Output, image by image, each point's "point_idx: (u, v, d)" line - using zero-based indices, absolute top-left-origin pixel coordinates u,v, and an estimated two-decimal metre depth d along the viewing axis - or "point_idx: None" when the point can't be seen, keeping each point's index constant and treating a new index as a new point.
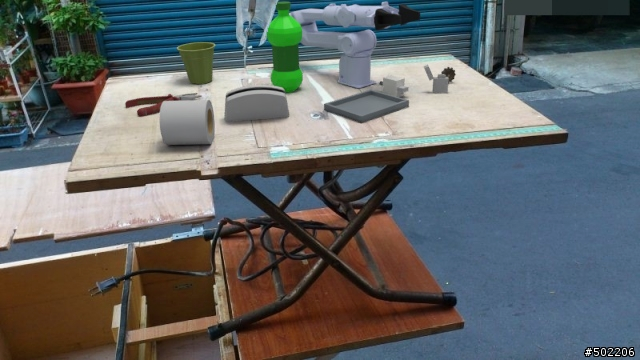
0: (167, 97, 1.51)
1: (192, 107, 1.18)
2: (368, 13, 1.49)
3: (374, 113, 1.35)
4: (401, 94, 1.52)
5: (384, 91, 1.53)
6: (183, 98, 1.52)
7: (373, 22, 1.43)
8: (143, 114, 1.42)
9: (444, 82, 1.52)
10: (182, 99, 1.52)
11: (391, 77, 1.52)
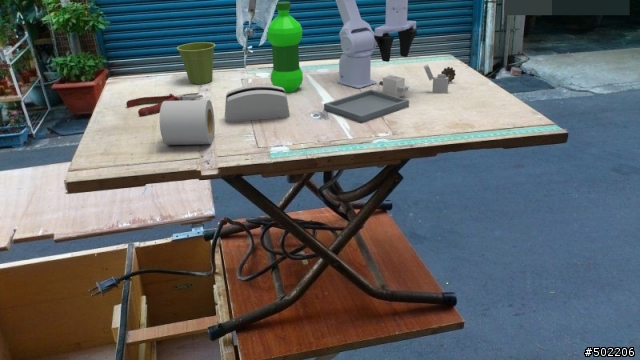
0: (168, 97, 1.51)
1: (192, 107, 1.18)
2: (393, 12, 1.41)
3: (374, 113, 1.35)
4: (401, 94, 1.52)
5: (384, 91, 1.53)
6: (184, 98, 1.52)
7: None
8: (144, 114, 1.42)
9: (444, 82, 1.52)
10: (183, 99, 1.52)
11: (391, 77, 1.52)
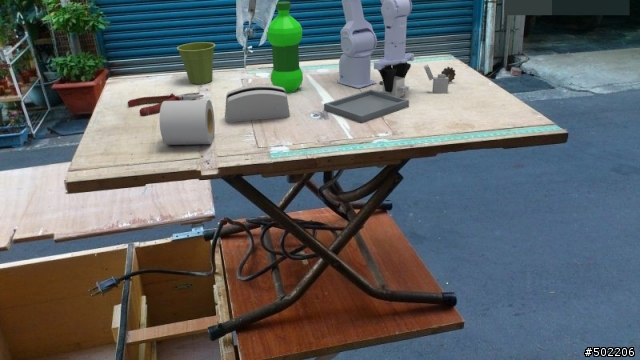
0: (169, 97, 1.51)
1: (192, 107, 1.18)
2: (392, 47, 1.45)
3: (374, 113, 1.35)
4: (401, 93, 1.52)
5: (384, 91, 1.53)
6: (185, 98, 1.52)
7: (377, 68, 1.46)
8: (145, 113, 1.42)
9: (444, 82, 1.52)
10: (184, 98, 1.52)
11: None
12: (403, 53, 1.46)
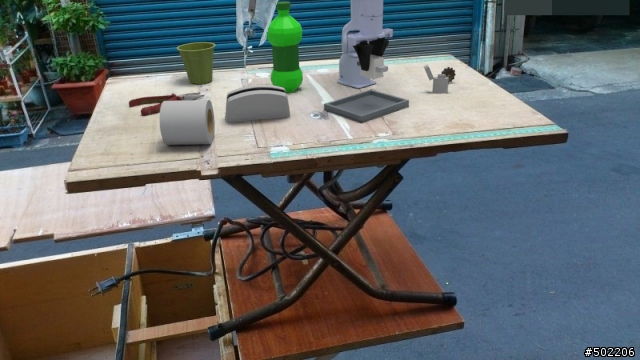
0: (171, 97, 1.52)
1: (192, 107, 1.18)
2: (367, 20, 1.32)
3: (374, 113, 1.35)
4: (380, 74, 1.39)
5: (362, 72, 1.40)
6: (186, 97, 1.52)
7: None
8: (147, 113, 1.42)
9: (444, 82, 1.52)
10: (185, 98, 1.52)
11: None
12: (380, 27, 1.33)
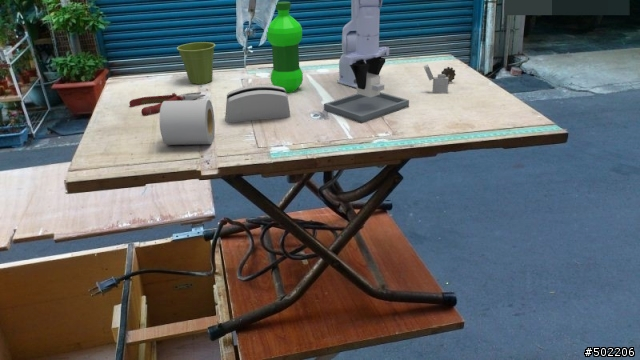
0: (171, 96, 1.52)
1: (192, 107, 1.18)
2: (363, 39, 1.33)
3: (374, 113, 1.35)
4: (377, 92, 1.40)
5: (358, 90, 1.41)
6: (187, 97, 1.52)
7: (347, 63, 1.34)
8: (147, 113, 1.42)
9: (444, 82, 1.52)
10: (186, 98, 1.52)
11: None
12: (376, 46, 1.34)
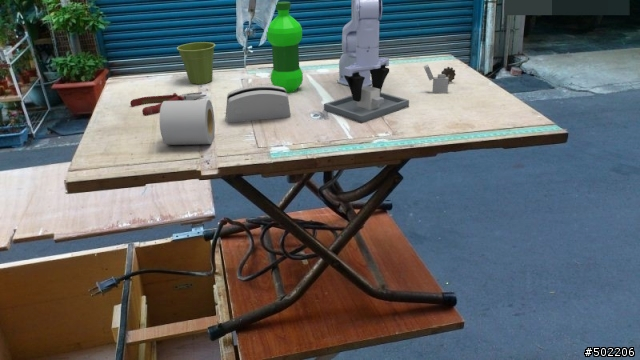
0: (172, 96, 1.52)
1: (192, 107, 1.18)
2: (363, 51, 1.34)
3: (374, 113, 1.35)
4: (376, 105, 1.41)
5: (358, 102, 1.42)
6: (188, 97, 1.52)
7: None
8: (148, 113, 1.42)
9: (444, 82, 1.52)
10: (187, 98, 1.52)
11: (365, 87, 1.41)
12: (376, 58, 1.36)
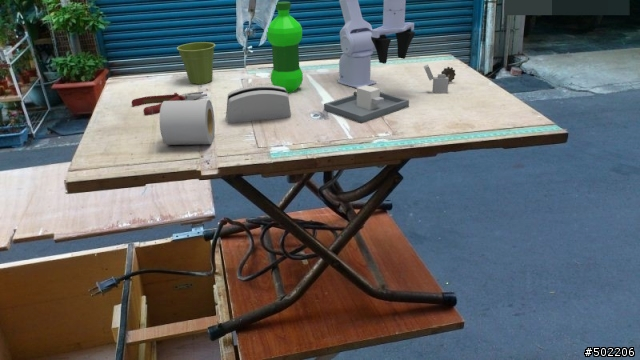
0: (173, 96, 1.52)
1: (192, 107, 1.18)
2: (390, 14, 1.39)
3: (374, 113, 1.35)
4: (376, 105, 1.41)
5: (358, 102, 1.42)
6: (189, 97, 1.52)
7: (374, 36, 1.41)
8: (149, 113, 1.43)
9: (444, 82, 1.52)
10: (188, 98, 1.52)
11: (365, 87, 1.41)
12: (402, 21, 1.41)
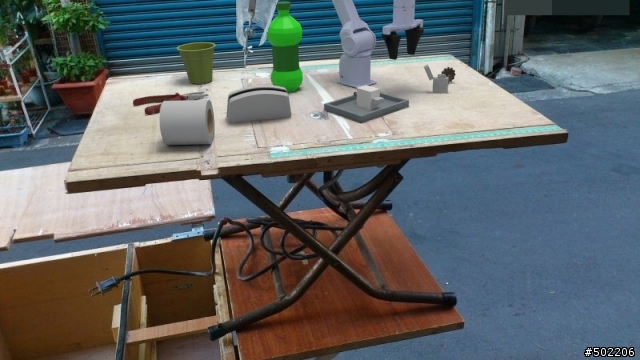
0: (174, 96, 1.52)
1: (192, 107, 1.18)
2: (401, 11, 1.43)
3: (374, 113, 1.35)
4: (376, 105, 1.41)
5: (358, 102, 1.42)
6: (190, 97, 1.53)
7: (385, 33, 1.44)
8: (150, 112, 1.43)
9: (444, 82, 1.52)
10: (189, 98, 1.53)
11: (365, 87, 1.41)
12: (412, 18, 1.44)
